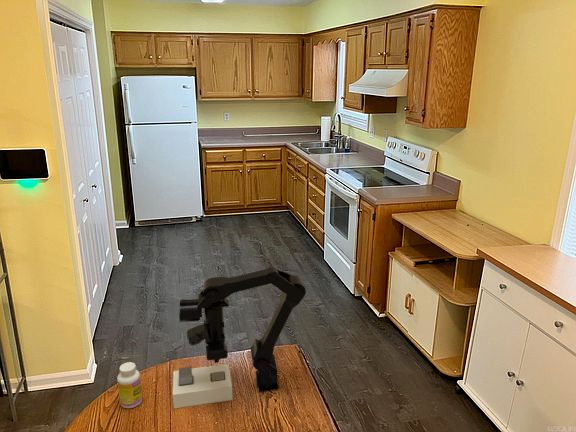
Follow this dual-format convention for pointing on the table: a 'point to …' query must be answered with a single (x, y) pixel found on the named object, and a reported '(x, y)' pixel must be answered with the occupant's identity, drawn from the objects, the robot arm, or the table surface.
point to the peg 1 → (185, 376)
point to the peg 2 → (217, 376)
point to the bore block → (202, 387)
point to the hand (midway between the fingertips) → (216, 362)
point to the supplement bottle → (129, 385)
